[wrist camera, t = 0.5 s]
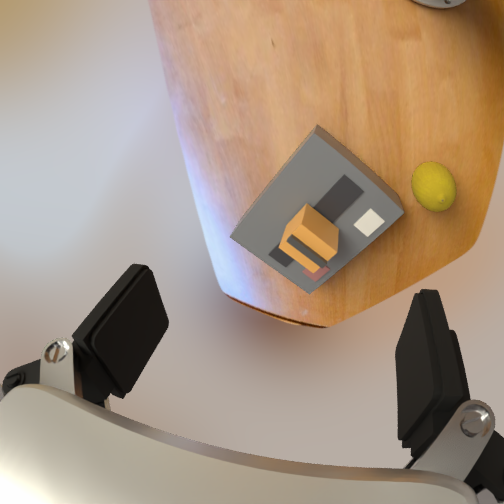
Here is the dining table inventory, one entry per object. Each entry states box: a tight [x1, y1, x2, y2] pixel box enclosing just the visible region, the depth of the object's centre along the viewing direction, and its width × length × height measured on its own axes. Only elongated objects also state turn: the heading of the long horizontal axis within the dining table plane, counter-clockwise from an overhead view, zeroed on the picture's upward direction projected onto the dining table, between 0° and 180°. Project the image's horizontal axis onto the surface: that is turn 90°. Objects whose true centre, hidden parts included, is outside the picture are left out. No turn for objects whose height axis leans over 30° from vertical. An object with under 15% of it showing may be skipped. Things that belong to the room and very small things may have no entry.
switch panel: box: [230, 125, 405, 294], centre depth 39 cm, size 18×14×5 cm
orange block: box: [279, 203, 339, 273], centre depth 34 cm, size 4×5×6 cm
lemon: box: [411, 161, 456, 212], centre depth 31 cm, size 6×6×8 cm
